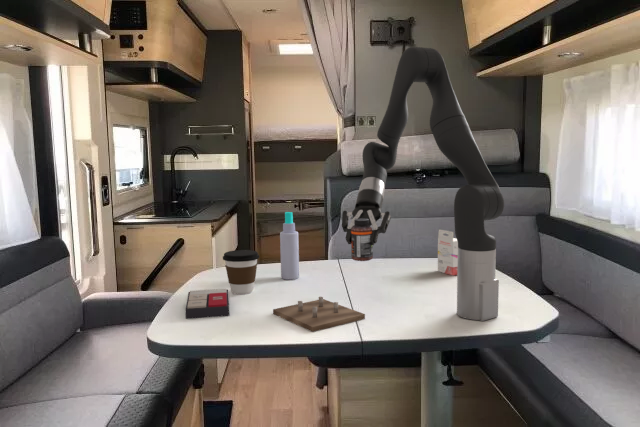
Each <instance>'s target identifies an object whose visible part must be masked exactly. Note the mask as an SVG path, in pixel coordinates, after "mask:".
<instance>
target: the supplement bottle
mask: <svg viewBox="0 0 640 427" xmlns="http://www.w3.org/2000/svg"><path fill="white" fill-rule="evenodd" d="M354 224H355V225H354V227H352V229H351V244H350V246H351V247H350V248H351V259H352V260H353V261H356V262H366V261H371V260H373V258H374V257H373V255H374V250H373V249H374V248H373V246H374V245H371V243H370V239H371V234H372V230H373V227H372V226H369V225H368V224H369V219H365V218H360V219H355V220H354Z"/></svg>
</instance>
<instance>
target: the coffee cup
mask: <svg viewBox="0 0 640 427" xmlns="http://www.w3.org/2000/svg"><path fill="white" fill-rule="evenodd" d="M259 258H260V254H259V253H258V252H257V251H256V250H251V249H236V250H230V251H226V252H225V253H223V256H222V260H223V261H224V262H225V270H226V275H227V280H228V283H229V287H230V291H231V293H232V294H233V295H248V294H251V293H253V290H254V287H255V282H256V276H257V275H256V274H257V268H258V267H257V266H258V260H259Z"/></svg>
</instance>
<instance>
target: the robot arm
mask: <svg viewBox="0 0 640 427" xmlns="http://www.w3.org/2000/svg"><path fill="white" fill-rule="evenodd" d="M446 66H447V65H446V63H445V60H444V57H443V55H442V54H441V53H440V52H439V50H437V49H435V48H432V47H420V46H419V47H418V46H410V47H408V48H406V49H405V50H404V51H403V52H402V54H401V56H400V58H399V61H398V64H397V68H396V72H395V76H394V80H393V84H392V88H391V93H390V97H389V101H388V104H387V107H386V111H385V113H384V116H383V118H382V120H381V123H380V124H379V127H378V130H377V132H376V133H377V134H376V136H377V139H378V140H379V141H380V142H381V143H378V142H377V141H370V142H368V143H366V144H365V145H364V147H363V149H362V157H361V158H362V164H363V175H362V180H361V183H360V185H359V189H358V192H357V196H356V199H355V200H356V201H355V205H354V209H353V210H352V211H349V212H347V210H343V211H342V215H341V216H342V217H341V218H342V219H341V228H342V230H343V232H344V233H346V234H345V241H346V243H347V244H348V245H351V229H352V227H354V225H355V224H354V220H355V219H360V218H365V219H369V224H368V225H369V226H370V227H371V228H372V234H371V239H370V243H371V245H373V246H374V245H375V244H376V243H377V242H378V238H379V235H380V234H386V233H387V229H388V227H389V225H390V222H391V214H390V211H386V212H382V207H383V202H384V198H385V188H386V183H387V182H386V181H387V178H388V173H387V170H390V169H392V168H394V166H395V164H396V161H397V157H398V156H397V154H398V147H399V146H398V145H399V142H400V140H401V138H402V135H403V134H404V132H405V128H406V126H407V124H408V120H409V109H408V101H407V100H408V93H409V91H410V89H411V87H412V86H413V84H414V83H425V85H426V86H427V88H428V91H429V92H430V95H431V98H432V106H431V111H430V115H429V116H430V117H429V127H430V131H431V134H432V136H433V138H434V141H435V143H436V146H437V147H438V150H440V152H441V153H442V154H443V156H445V158H447V159H448V160H449V161H450V162H451V163H452V164H453V166H454V167H456V168H457V169H458V170H459V171H460V173H461V174H462V176H463V177H464V179H465V181H466V183H467V184H465V185H462V186H461V187H459V188H458V190H457V191H456V193H455V196H454V201H453V215H454V218H453V219H454V222H453V223H454V235H455V238H456V239H457V241H458V265H457V275H456V276H457V280H456V282H457V283H456V290H457V291H456V315H457V316H459V317H460V318H464V319H467V320H474V321H475V320H476V321H480V322H485V321H488V320H491V319H494V318H498V317H499V294H500V293H499V289H500V288H499V287H500V285H499V284H500V282H499V281H500V280H499V279H498V278H496V261H497V260H496V258H497V239H496V237H495V236H494V235H491V234H489V233H487V232H486V230H485V221H491V220H496V219H498V218H499V217H501V215H502V214H503V212H504V209H505V200H504V195H503V193H502V190H501V188H500V186H499V184H498V182H497V181H496V179H495V178H494V176H493V174H492V173H491V170H490V169H489V168H488V166H487V164H486V162H485V160H484V158H483V155H482V153H481V151H480V149H479V146H478V145H477V142H476V140H475V138H474V135H473V133H472V130H471V127H470V125H469V123H468V121H467V119H466V116H465V114H464V113H463V109H462V108H461V106H460V104H459V101H458V98H457V95H456V92H455V90H454V89H453V85H452V82H451V79H450V76H449V71H448V69H447V67H446ZM382 143H383V144H382ZM352 217H353V218H352ZM351 218H352V219H351ZM380 219H382V221H381V223H380V226H378V225H377V221H379V220H380ZM349 221H350V223H349Z"/></svg>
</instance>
